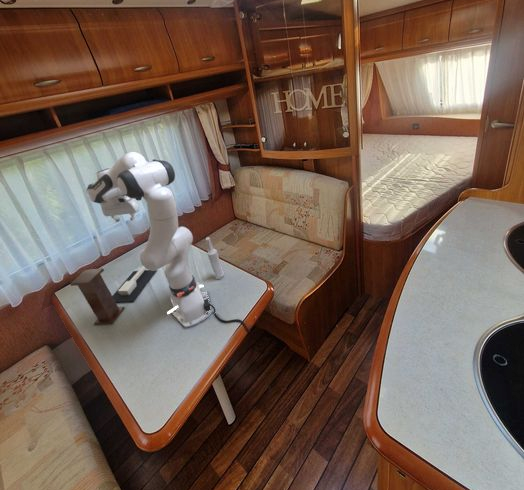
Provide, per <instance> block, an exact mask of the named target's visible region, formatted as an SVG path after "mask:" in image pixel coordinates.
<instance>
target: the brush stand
mask: <svg viewBox="0 0 524 490" xmlns="http://www.w3.org/2000/svg"><path fill="white" fill-rule="evenodd" d="M104 270H105V269H104V268H103V267H101V268H90V269H85V270H83V271H82V272H81V273H80V274H79V275H78V276H77V277H76V278H74V280H73V281H71V282H70V283H69V285H70V286H73V287H74V286H77V288H78V289H79V290H80V292H81V294H82V296H83V297H84V298H85V300H86V302H87V304H88V305H89V307H90V309H91V310H92V312H93V314H94V315H95V317H96V318H97V319H96V320H95V321H94V323H93V324H94V325H113V324H114V323H115V321H116V320H117V319H118V317H119V316H120V315H121V313H122V312H123V311H124V309H125V307H124V306H118V303H116V302H115V300H114V299H113V297H112V296H113V295H112V293H111V290H110V289H109V288H108V286H107V284H106V282H105V279H103V277H102V275H101V274H103V272H104Z"/></svg>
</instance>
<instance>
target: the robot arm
mask: <svg viewBox="0 0 524 490" xmlns="http://www.w3.org/2000/svg"><path fill="white" fill-rule="evenodd" d="M175 172H176V171H175V169H174V167H173V165H172V164H171V163H170V162H168V161H167V160H161V159H159V160H158V159H152V160H151V161H147V160H146V157H145V156H144V155H143V154H141V153H139V152H137V151H129V152H127V153H125V154H123V155H122V156H121V157H119V159H118V160H117V161H116V163H115V164H114V165H113V166H112V167H111V168H105V169H102V170H99V171H97V172H96V173H95V178H96V182H92V183H89V184H88V185H87V187H86V194H87V197H88V198H89V200H90V201H91V202H92V203H95V204H99V205H100V208H101V211H102V214H103V216H104V217H111V218H112V219H113V220H114V222H115V223H120V222H121V219H120V218H119V217H117V216H120V215H130V217H129V219H130V221H131V222H132V221H135V220H136V218H135V214H137V213H138V212H139V211H140V206H139V205H138V202H139V201H142V198H143V199H144V200H145V202H146V207H147V215H148V220H149V227H150V228H149V230H150V231H149V236H148V239H147V243H146V245H145V246H144V248H143V250H142V251H141V253H140V254H139V255H140V256H139V260H140V263H141V265H142V266H144V267H145V268H146V269H145V270H151V271H155V270H159V269H161V268H164V267H165V269H164V276H165V278H166V281H167V282H168V283H167V284H168V288H169V292H171V294H170V296H169V299H170V302H171V304H172V307H173V308H171V309H170V310H168V311H167V312H166V313H167V315H169V314H171V315H172V316H173V317H174V318H175V319H176V320H177V321H178V322H179V323H180V324H181V325H182V327H183V328H185V329H186V328H187V329H188V328H191V327H194V326H196V325H198V324H200V323H201V322H203V321H205V320H206V319H207V318H209V317H210V316H211V315H212V313H213V314H214V313H215V312H217V311H216V308H215V306H214V305H213V304H212V303H211V300H210V297H209V294H208V292H207V291H203V290H204V289H203V288H204V285H203V284H200V282H198V281H196V278H195V276H194V274H193V273H192V271H191V267H190V264H189V254H190V249H191V245H192V243H193V242H194V237H193V233H192V231H190V229H188V228H187V227H185V226H179V217H178V208H177V202H176V200H175V197H174V194H173V191H172V190H171V189H170V188H169V187H167V186H169V185H171V184H172V183H173V182H174V181H175V178H176V173H175ZM137 201H138V202H137ZM207 294H208V295H207ZM207 296H208V297H207ZM206 298H209V299H206ZM208 300H209V301H210V303H209V301H208ZM210 306H211V308H212V311H211V312H210V314H209V313H208V312H207V311H209V310H211V309H210ZM206 312H207V313H206ZM205 313H206V314H205ZM208 314H209V315H208ZM214 316H215V317H216V319H217V320H218V321H220V322H222V323H232V322H239V323H241V324H242V325H243V326H244V328H245V329H246V331H247V332H248V333H251V330H250V329H249V327H248V326H247V324H246V323H245V321H243V320H242V319H239V318H236V319H235V318H234V319H230V320H225V319H221V318H220V317H219V316H218V315H217V313H215V314H214ZM265 380H266V385H267V388H268V392H269V394H270V396H272V395H273V392H272V389H271V385H270V383H269V379H268V377H266V378H265Z"/></svg>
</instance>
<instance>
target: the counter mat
mask: <svg viewBox="0 0 524 490" xmlns="http://www.w3.org/2000/svg"><path fill="white" fill-rule="evenodd" d="M157 270H158V269H157ZM157 270H155V271H151V270H148V269H145V271H144V272H143V273H142V274H141V275H140V277H139V278H138V279H137V280H136V283H137V284H136V285H137V286H136V287H135V289H134V290H133V291H132V292H131V294H130V295H121V294H119V293H118V290H119V289H120V288H121V287H122V286H123V285H124V283H125V282H126V281H130V280H131V279H132V278H133V276H134V275H135V274H136V273H137V272H138V271H139V270H133V271H132V273H131V274H130V275H128V277H127V278H126V279H125V280H124V282H123V283H122V284H121V285H120V286H119V287H118V288H117V290H116V291H115V292H114V294H113V295H112V297H113V299H114V300H115V302H116V304H124V303H134V302H135V300H136V299H137V298H138V296H139V295H140V294H141V292H143V290H144V289H145V287H146V286H147V284H148V283H149V282H150V280H151V279H152V278H153V277H154V275H155V274H156V272H157Z"/></svg>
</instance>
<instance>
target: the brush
mask: <svg viewBox="0 0 524 490" xmlns="http://www.w3.org/2000/svg"><path fill="white" fill-rule="evenodd" d="M145 270H147V269H146V268H145V267H144V266H143V265H142V266H140V268H139V269H138V270H137V271H138V272H137V273H136V274H135V275H134V276H133V278H132V279H131V280H130V281H126V280H125V281H126V282H125V281H124V282H125V283H124V282H123V283H124V285H123V286H122V287H121V288H120V287H119V288H120V289H119V288H118V289H119V290H118V289H117V290H118V293H119V294H121V295H130V294H131V292H132V291H133V290H134V289H135V287H136V286H137V285H136V284H137V283H136V280H137V279H138V278H139V277H140V275H141V274H142V273H143V272H144V271H145Z"/></svg>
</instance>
